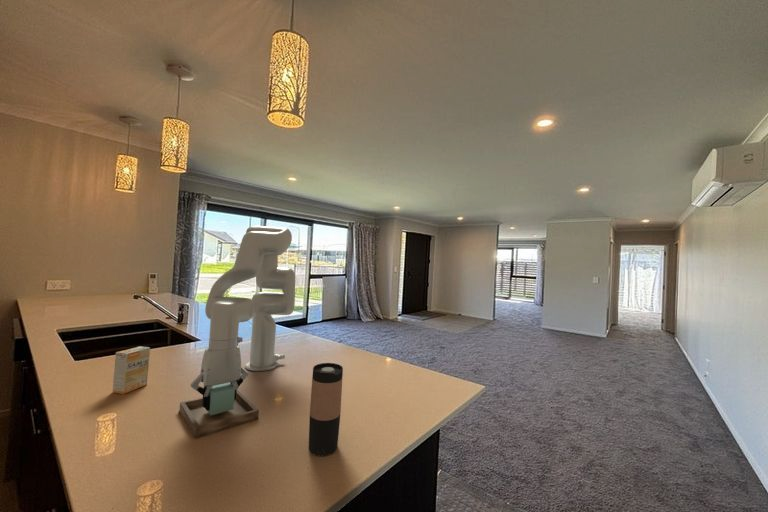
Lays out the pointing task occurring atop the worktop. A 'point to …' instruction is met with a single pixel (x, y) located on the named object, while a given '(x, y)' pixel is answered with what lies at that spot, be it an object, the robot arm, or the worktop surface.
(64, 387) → the worktop surface
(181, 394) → the worktop surface
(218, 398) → the teal cube
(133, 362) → the supplement box
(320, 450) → the travel mug
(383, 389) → the worktop surface
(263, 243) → the robot arm
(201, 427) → the walnut tray
